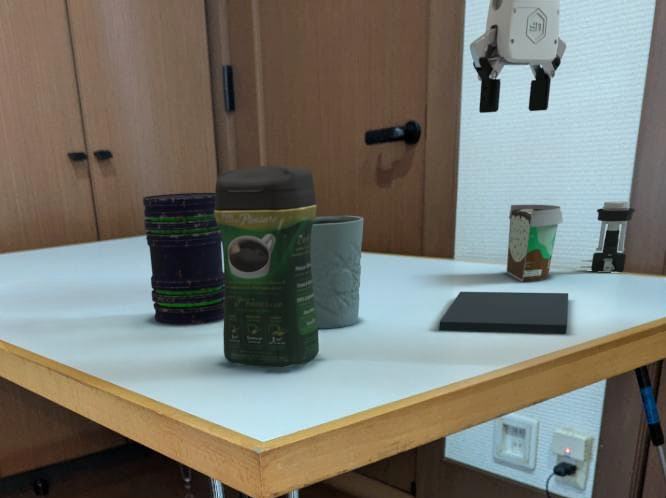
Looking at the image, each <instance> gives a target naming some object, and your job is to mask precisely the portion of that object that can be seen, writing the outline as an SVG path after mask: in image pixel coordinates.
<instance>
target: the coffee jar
mask: <svg viewBox="0 0 666 498" xmlns="http://www.w3.org/2000/svg"><path fill="white" fill-rule="evenodd" d="M214 191H215V192H214V193H215V211H214V213H215V219H216V222H217V225H218V228H219V230H220V234H221V239H222V242H221V247H222V258H223V272H224V319H223V329H222V330H223V332H222V333H223V337H222V338H223V356H224V358H225V359H226V361H228V363H230V364H234V365H240V366H244V367H254V368H263V369H270V368H271V369H279V368H283V369H284V368H289V367H292V366H298V365H299V366H304V365H307V364H309V363H310V362H312V361H313V360H315V358H316V357H317V356H318V354H319V351H320V345H319V344H320V343H319V329H318V327H317V319H316V311H315V302H314V293H313V282H312V271H311V257H310V241H311V230H312V226H313V223H314V220H315V217H317V211H318V210H317V208H318V207H317V206H318V205H317V199H316V192H315V183H314V179H313V175H312V172H311V170H310V169H309V168H307V167H298V166H297V167H296V166H287V165H259V166H258V165H257V166H248V167H242V168H237V169H231V170H226V171H221V172H220V173H219V174H218V176H217V178H216V182H215V189H214Z"/></svg>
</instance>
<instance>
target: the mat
mask: <svg viewBox="0 0 666 498" xmlns="http://www.w3.org/2000/svg"><path fill="white" fill-rule="evenodd" d="M568 313H569V293H568V292H519V291H518V292H516V291H512V292H511V291H509V292H508V291H460V292H459V293H458V294H457V296H455V299H454V300H453V301H452V303H451V304H450V306H449V307H448V308H447V311H445V313H444V315H443V316H442V317H441V319H440V320H439V324H438V330H439V331H453V332H454V331H455V332H456V331H457V332H458V331H459V332H485V333H486V332H488V333H489V332H490V333H491V332H492V333H521V334H522V333H523V334H527V333H528V334H553V335H554V334H555V335H557V334H559V335H566V334H567V329H568V315H569V314H568Z"/></svg>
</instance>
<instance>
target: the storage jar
mask: <svg viewBox="0 0 666 498" xmlns="http://www.w3.org/2000/svg"><path fill="white" fill-rule="evenodd" d="M142 204H143V206H144V209H143V215H144V218H146V219H144V220H143V222H144V229H145V230H146V233H145V234H146V238H145V240H146V243H147V246H148V247H149V256H150V265H151V266H150V267H151V277H150V285H151V289H152V290H151V291H150V292H151V293H150V294H151V301H152V302H154V303H153V310H154V311H155V312H154V313H155V314H154V321H155V323H157V324H162V325H167V326H198V325H205V324H212V323H217V322H220V321H224V266H223V249H222V239H221V234H220V230H219V228H218V225H217V222H216V219H215V213H214V211H215V192H187V193H185V192H184V193H168V194H167V193H166V194H156V195H147V196H144V197H142Z"/></svg>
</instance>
